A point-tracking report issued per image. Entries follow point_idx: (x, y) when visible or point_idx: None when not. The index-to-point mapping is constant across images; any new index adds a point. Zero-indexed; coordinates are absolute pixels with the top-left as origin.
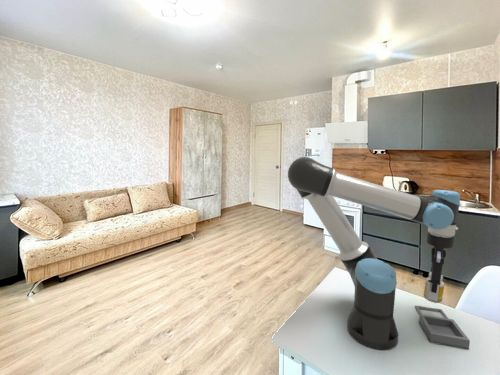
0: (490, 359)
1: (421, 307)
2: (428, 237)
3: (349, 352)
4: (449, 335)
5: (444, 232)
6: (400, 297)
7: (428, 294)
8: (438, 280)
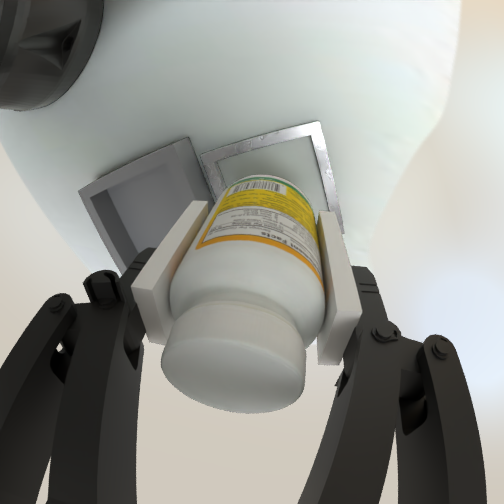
0: None
1: (315, 150)
2: None
3: None
4: (108, 240)
5: None
6: (384, 65)
7: (182, 216)
8: (55, 361)
